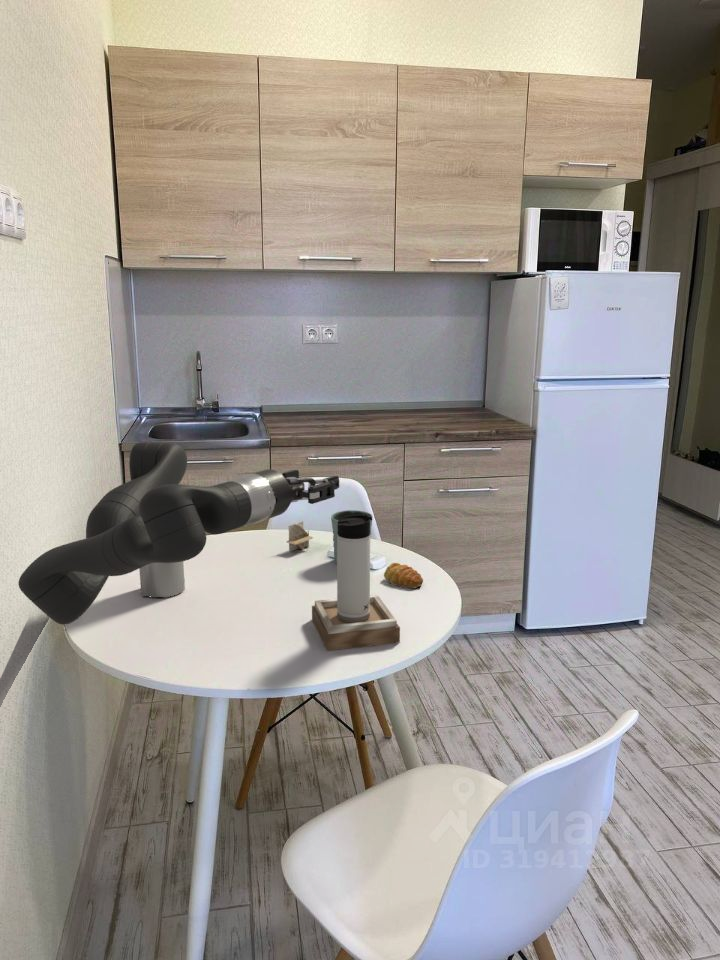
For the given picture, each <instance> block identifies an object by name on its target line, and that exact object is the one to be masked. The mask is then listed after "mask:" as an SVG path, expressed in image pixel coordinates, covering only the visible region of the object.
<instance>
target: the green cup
mask: <svg viewBox="0 0 720 960" xmlns="http://www.w3.org/2000/svg"><path fill="white" fill-rule="evenodd" d="M352 515H370V516H371V517H372V518H373V515H372V513H370V512H368V511H364V510H357V509H356V510H354V509H348V510H346V509H345V510H341V511H337V512H334V513H332V514H331V527H332V528H331V529H332V537H333V538H332V542H333V556H334V564H336V565H337V531H338V529H337V524H338V520H340V519H341V518H344V517H347V516H352ZM372 525H373V520H372V521H371V520H370V540H371V535H372Z"/></svg>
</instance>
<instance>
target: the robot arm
mask: <svg viewBox="0 0 720 960" xmlns="http://www.w3.org/2000/svg"><path fill="white" fill-rule="evenodd" d="M128 463H129V466H128V468H129V475H130V476H129V477H130V481H127V482H124V483H122V484H119V485H118V486H116V487H114V488H112V489H111V490H109V491H108V492H106V494H105V495H104V496H103V497H102V498H101V499H100V500H99V501H98V503H97V504H95V506H94V507H93V508H92V509H91V511H90V513H89V514H88V517H87V521H86V527H85V538H83V539H80V540H75V541H71V542H69V543H65V544H62V545H59V546H55V547H53V548H51V549H49V550H47V551H45V552H44V553H42V554H41V555H40V556H38V557H37V558H36V559H35V560H34V561H32V562H31V563H30V564H29V565H28V566H27V567H26V569H25V570H24V571H23V572H22V573H21V575H20V576H19V579H18V582H17V585H18V588H19V590H20V591H21V592H22V593H23V595H24V596H26V598H27V599H28V600H30V601H31V603H33V604H34V605H35V606H36V607H37V608H38V609H39V610H40V611H41V612H43V613H44V614H45V615H46V616H47V617H48V618H50V619H51V620H52V621H54V622H55V623H56V624H58V625H63V626H64V625H69V624H71V623H74V622H75V621H77V620H78V619H79V618H81V616H83V615H84V614H85V613H86V612H87V611H88V609H89V608H90V607H91V606H92V604H93V603H94V602H95V601H96V599H97V597H99V594H100V593H101V591H102V589H103V587H104V586H105V584H106V582H107V580H108V578H109V577H118V576H119V577H120V576H126V575H127V574H130V573H132V572H135V571H137V570H138V571H139V581H140V582H139V584H140V595H141V596H151V597H150V598H152V597H165V598H170V596H171V597H174V595H175V596H177V595H179V593H180V594H181V593H183V592H184V591H185V588H186V586H185V585H186V584H185V581H186V580H185V568H184V567H185V565H184V563H185V561H189V560H192V559H194V558H195V557H198V555H199V554H201V553H202V551H203V550H204V548H205V546H206V543H207V534H209V535H222V534H225V533H227V532H231V531H233V530H236V529H239V528H241V527H242V528H243V527H246V526H247V527H248V526H252V525H255V524H258V523H261V522H264V521H266V520H270V519H273V518H275V517H278V516H280V515H283V514H284V513H285V512H287V510H288V508H289V507H290V506H291V504H292V503H297V502H298V501H307V503H308V504H310V505H313V504H317V503H321V502H324V501H326V500H329V499H332V498H335V496H336V495H335V494H336V493H335V490H338V489H339V488H340V477H339V476H338V475H332V476H331V475H330V476H328V477H325V478H322V479H320V478H319V479H314V478H313V477H311V476H308V477H300V472H299V470H298V469H292V470H288V471H284V472H281V471H277V470H274V469H270V468H269V469H264V470H259V471H256V472H252V473H248V474H244V475H241V476H238V477H235V478H233V479H231V480H229V481H226V482H221V483H218V484H214V485H211V486H198V485H197V486H196V485H187V484H181V481H182V480H183V478H184V476H185V474H186V471H187V467H188V456H187V453H186V451H185V449H184V448H183V447H182V446H181V445H180V444H178V443H174V442H159V441H140V442H137V443H135V444H134V445H133V446H132V448H131V449H130V454H129V462H128ZM305 483H308V485H307V486H308V487H307V489H306V488H305ZM206 533H207V534H206ZM141 596H140V597H141Z"/></svg>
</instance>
